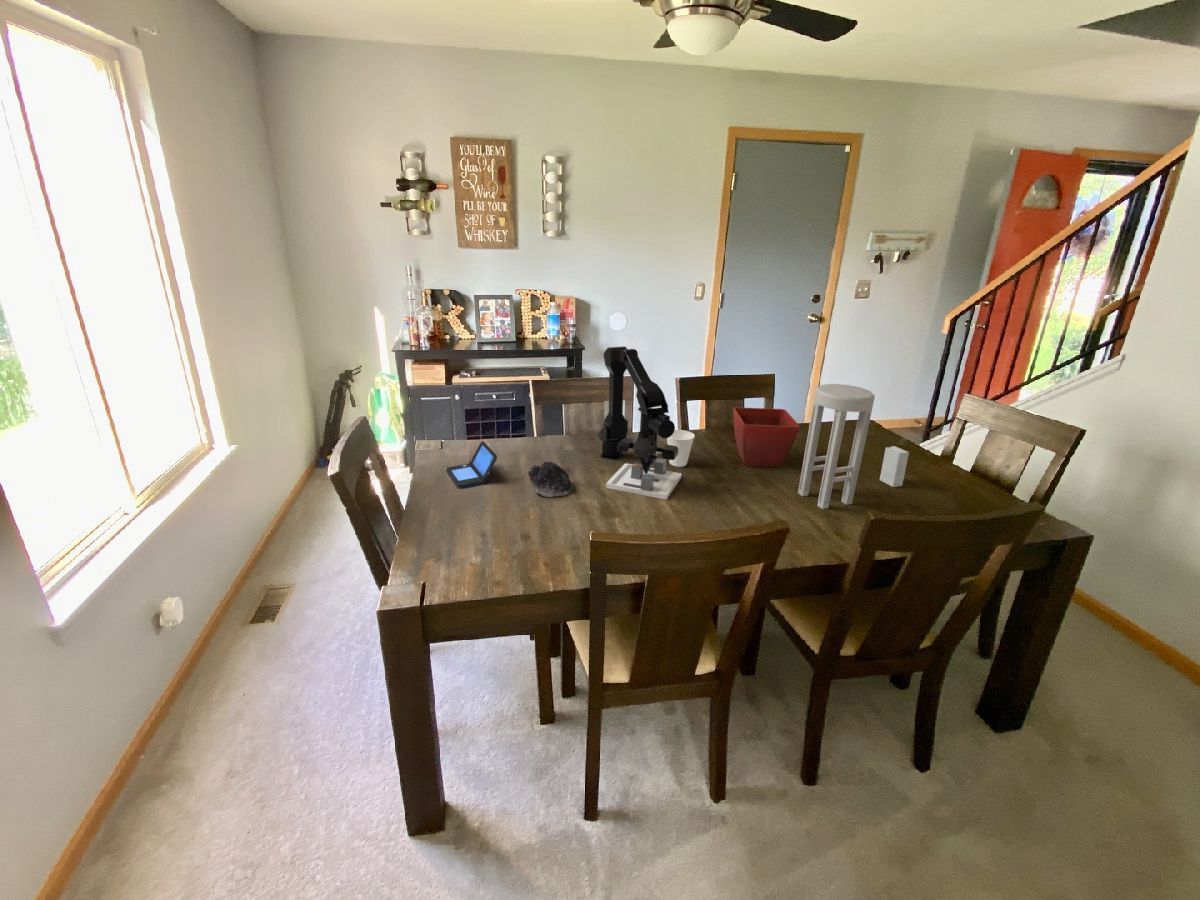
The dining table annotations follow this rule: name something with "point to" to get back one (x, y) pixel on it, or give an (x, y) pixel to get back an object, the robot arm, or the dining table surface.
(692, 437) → the cup
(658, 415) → the robot arm
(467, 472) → the handheld game console
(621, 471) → the panel
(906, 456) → the skincare box
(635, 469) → the block
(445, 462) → the dining table surface
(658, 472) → the block
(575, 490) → the dining table surface
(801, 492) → the stool
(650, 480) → the block
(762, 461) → the plant pot
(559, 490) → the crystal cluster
